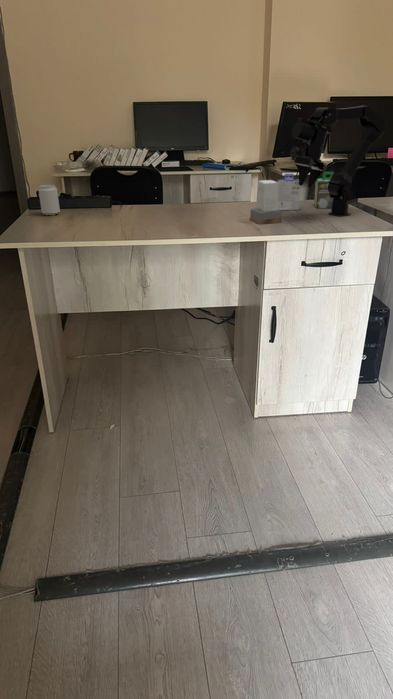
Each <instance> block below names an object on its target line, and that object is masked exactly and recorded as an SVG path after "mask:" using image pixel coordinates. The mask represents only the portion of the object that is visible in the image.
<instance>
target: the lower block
mask: <svg viewBox="0 0 393 699" xmlns="http://www.w3.org/2000/svg"><path fill="white" fill-rule="evenodd" d="M250 221H252V222H254V223H255V224H258V225H266V224H278V223H279V224H280V223H282V217H281V218H276V219H265V220H259V219H257V218H255V217H253V216H251V215H250Z"/></svg>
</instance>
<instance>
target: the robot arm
mask: <svg viewBox="0 0 393 699" xmlns="http://www.w3.org/2000/svg"><path fill="white" fill-rule="evenodd" d="M355 118H356V119H358V123H359V125H360V126H361V130H360V134H359V135H360V136H359V137H360V138H359V140H358V142H357V144H356V145H355V147H354V148H353V151H351V154H350V156H349V157H348V159H347V161H346V162H345V164H344V165H343V167H342V169H341V171H339V172H338V173H335V172H334V174H333V175H332V178H331V179H330V181H329V184H328V187H327V188H328V192H329V195H330V198H334V199H333V203H332V208H331V211H330V212H328V215H332V216H336V217H343V216H351V215H352V214H351V212H349V205H350V204H349V203H350V201H353V199H354V198H355V194H354V192H353V191H352V189H351V187H352V185H353V184H352V183H353V176H354V175H355V173H356V171H357V170H358V168H359V166H360V165H361V162H362V161H363V159H364V158H365V156H366V154H367V153H368V151H369V149H370V148H371V146H372V144H373V143H375V142H376V141H378V140H379V139H380V138H381V136H382V135H383V134H384V133H385V132H386V129H387V126H386V121H385V120H384V119H383V118H382V117H381V116H380V115H379V114H377V112H375V111H374V110H373V109H372V107H371V106H370V105H359V106H351V107H344V108H336V107H316V108H315V110H314V112H313V113H312V115H311V116H310V117H309V118H308V119H306V118H302V117H299V118H298V120H297V122H295V123H294V125H293V127H292V130H291V135H292V137H293V138H294V139H298V140H302V141H306V142H308V143H307V144H305V146H304V148H299V147H298V146H292V148H291V150H290V153H289V156H290V158H291V161H293V163H294V165H295V166H296V168H297V169H298V179H299V185H300V186H303V185H304V184H305V181H306V180H307V178H308V176H309V178H308V183H307V187H308V188H309V189H311V188H312V187H313V186H314V185H315V184H316V180H317V179H320V177H321V175H323V173H324V172H327V167H328V165H327V162H326V163H325V162H323V161H322V159H321V157H322V154H323V153H324V152H325V150H326V149H325V148H324V145H325V142H326V138H327V136H328V134H333V130H332V129H331V126H329V125H331V124H334V123H337V122H338V121H341V120H348V119H355ZM324 125H325V126H324Z"/></svg>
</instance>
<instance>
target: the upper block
mask: <svg viewBox="0 0 393 699" xmlns="http://www.w3.org/2000/svg"><path fill="white" fill-rule="evenodd" d="M282 211H283V210H277V211H268V212H263V211H261V210H260V209H258V208H257V207H256V208H250V215H251V216H253V217H255V218H257V219H259V220H265V219H276V218H281V219H282V216H283V215H282V214H283V213H282Z"/></svg>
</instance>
